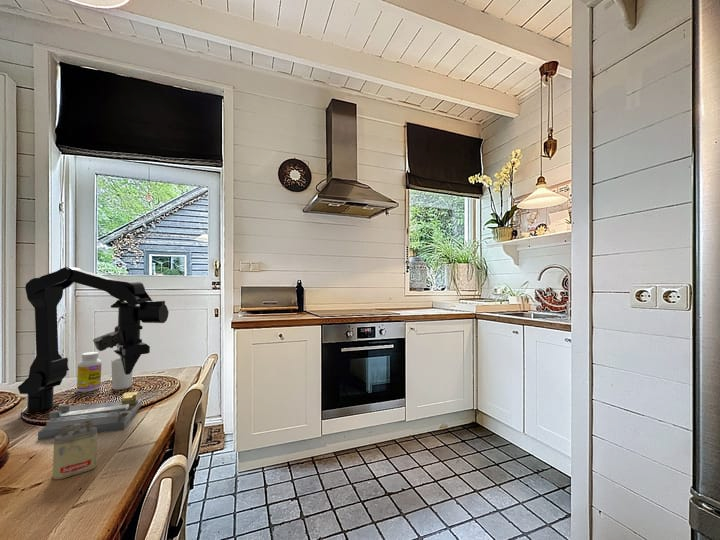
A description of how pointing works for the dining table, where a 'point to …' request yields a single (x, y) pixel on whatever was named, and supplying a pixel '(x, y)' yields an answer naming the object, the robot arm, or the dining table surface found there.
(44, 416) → the dining table surface
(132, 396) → the pale yellow lumpy block
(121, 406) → the strap
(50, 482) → the dining table surface
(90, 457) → the pale red-labelled box
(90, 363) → the supplement bottle
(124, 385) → the white cup
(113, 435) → the dining table surface
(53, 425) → the grey stone tray
